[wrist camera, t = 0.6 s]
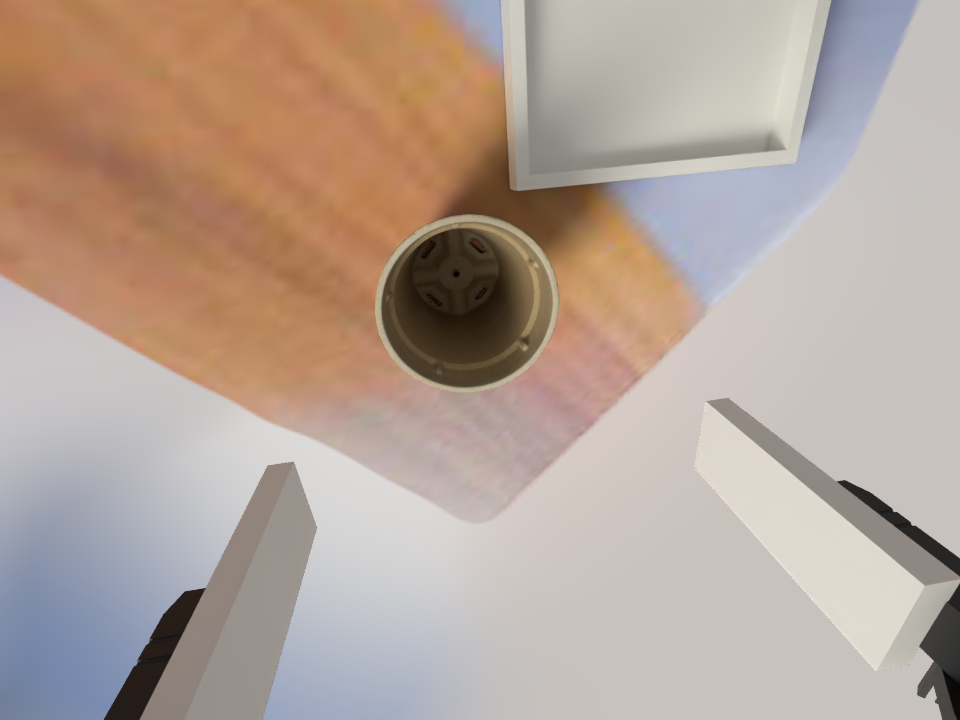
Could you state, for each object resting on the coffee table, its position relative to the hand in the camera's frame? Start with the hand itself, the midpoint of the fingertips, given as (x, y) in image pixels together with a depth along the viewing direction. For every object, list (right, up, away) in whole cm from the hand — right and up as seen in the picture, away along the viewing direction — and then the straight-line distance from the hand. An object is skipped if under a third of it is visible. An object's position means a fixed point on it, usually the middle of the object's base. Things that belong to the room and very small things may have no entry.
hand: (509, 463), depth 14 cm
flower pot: (-3, +10, +16) cm, 19 cm away
